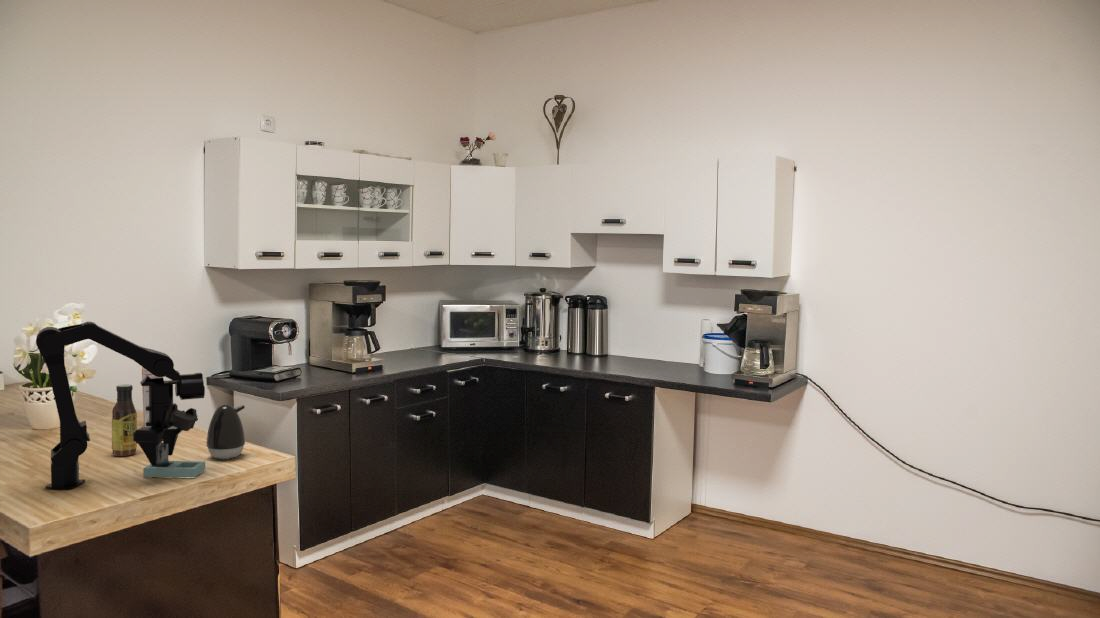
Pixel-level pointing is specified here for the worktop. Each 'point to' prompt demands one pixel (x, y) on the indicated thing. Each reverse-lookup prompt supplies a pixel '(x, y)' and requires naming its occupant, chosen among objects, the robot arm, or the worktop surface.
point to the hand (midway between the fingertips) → (162, 460)
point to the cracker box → (146, 395)
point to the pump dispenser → (226, 432)
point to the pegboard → (175, 469)
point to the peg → (162, 455)
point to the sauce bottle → (124, 422)
